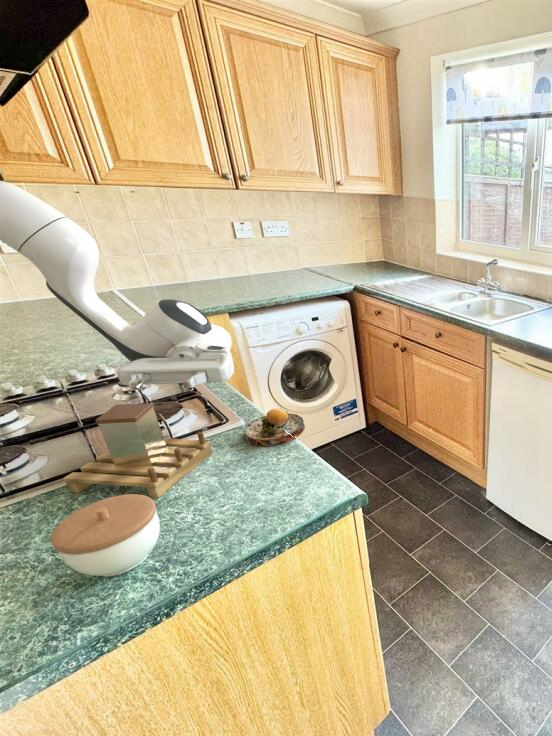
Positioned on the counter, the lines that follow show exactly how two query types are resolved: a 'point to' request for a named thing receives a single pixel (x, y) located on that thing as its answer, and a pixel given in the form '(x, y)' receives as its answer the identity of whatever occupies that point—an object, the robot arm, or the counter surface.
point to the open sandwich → (274, 428)
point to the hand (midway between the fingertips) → (160, 385)
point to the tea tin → (132, 434)
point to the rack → (144, 468)
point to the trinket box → (108, 535)
